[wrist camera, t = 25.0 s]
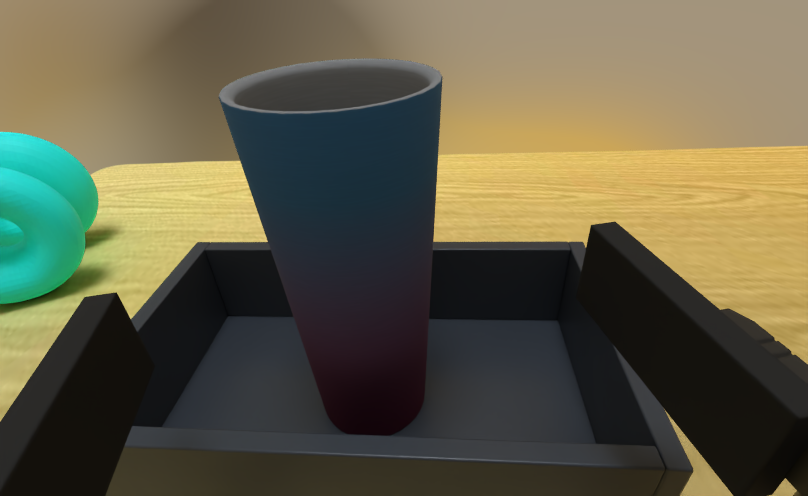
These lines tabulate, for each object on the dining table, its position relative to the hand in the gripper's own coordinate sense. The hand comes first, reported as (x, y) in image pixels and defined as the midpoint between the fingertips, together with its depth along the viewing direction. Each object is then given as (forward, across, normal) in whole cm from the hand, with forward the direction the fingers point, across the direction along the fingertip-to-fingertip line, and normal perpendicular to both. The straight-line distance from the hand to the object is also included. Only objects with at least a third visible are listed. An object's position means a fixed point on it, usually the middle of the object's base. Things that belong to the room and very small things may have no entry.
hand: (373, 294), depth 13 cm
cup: (+5, 0, -10) cm, 11 cm away
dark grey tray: (+5, 0, -11) cm, 12 cm away
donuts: (+23, -24, -11) cm, 35 cm away
